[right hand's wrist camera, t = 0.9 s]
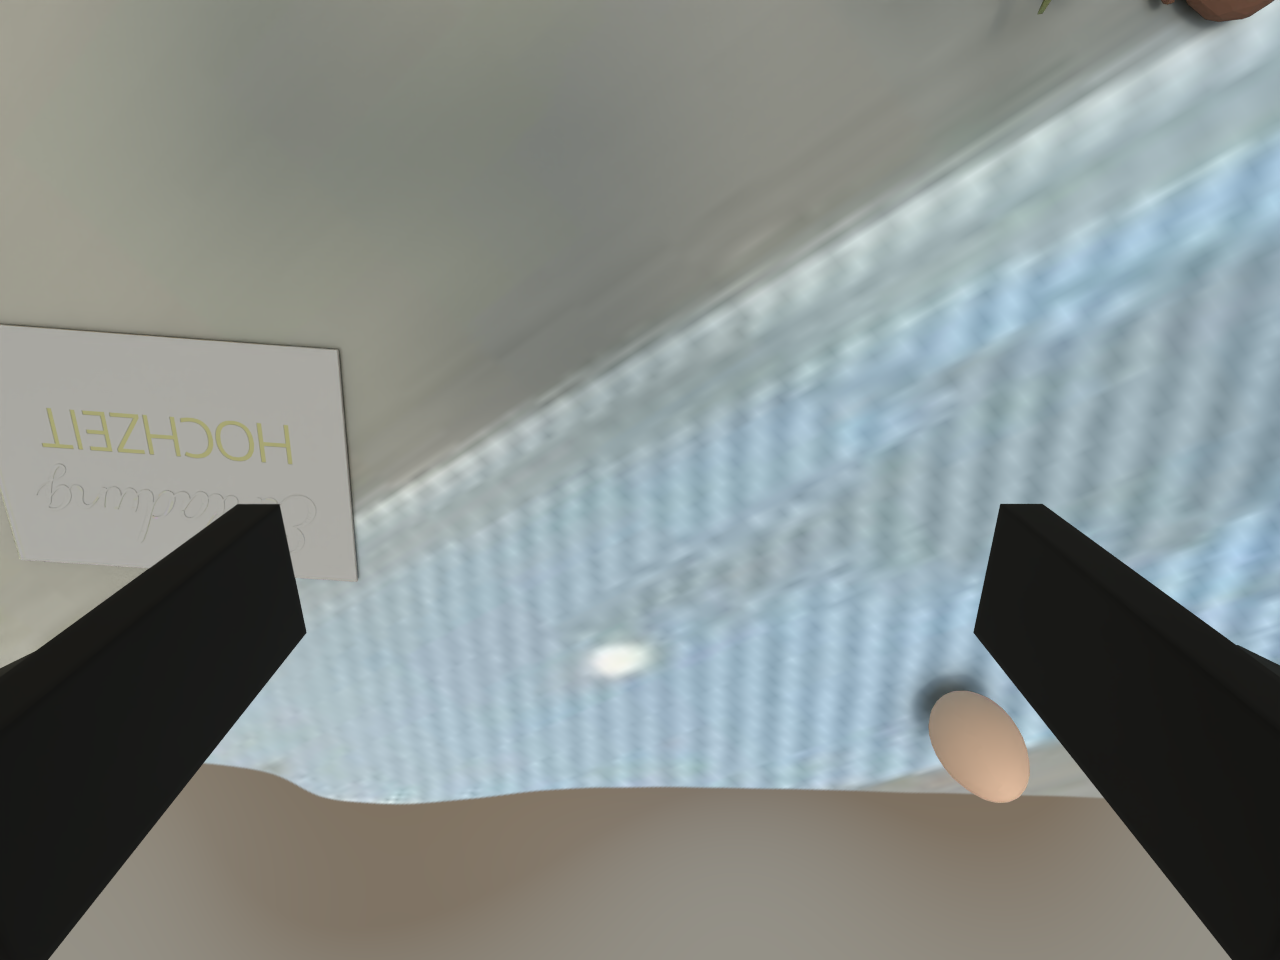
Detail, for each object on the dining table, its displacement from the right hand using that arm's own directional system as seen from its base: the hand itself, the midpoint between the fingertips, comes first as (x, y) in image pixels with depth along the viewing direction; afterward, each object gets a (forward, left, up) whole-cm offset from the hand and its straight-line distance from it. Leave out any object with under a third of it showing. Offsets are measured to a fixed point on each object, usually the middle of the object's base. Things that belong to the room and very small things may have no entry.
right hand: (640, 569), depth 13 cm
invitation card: (+8, -28, -28) cm, 41 cm away
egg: (+26, +22, -28) cm, 44 cm away
